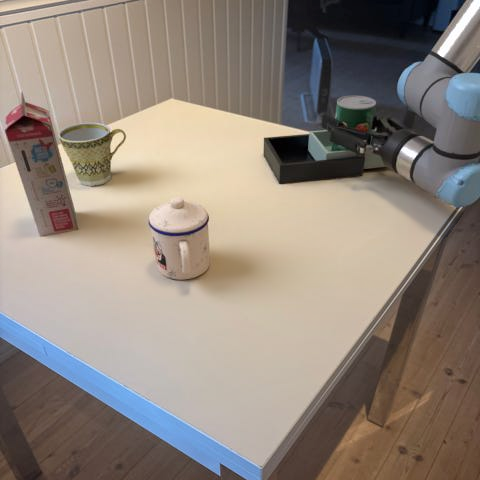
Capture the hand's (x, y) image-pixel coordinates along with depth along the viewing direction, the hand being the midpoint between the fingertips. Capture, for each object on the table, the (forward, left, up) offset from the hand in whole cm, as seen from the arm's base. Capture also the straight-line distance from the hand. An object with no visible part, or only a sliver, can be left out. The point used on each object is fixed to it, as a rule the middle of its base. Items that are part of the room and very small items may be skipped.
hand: (340, 116), depth 105 cm
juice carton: (+52, +36, -8) cm, 63 cm away
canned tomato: (-3, +4, -7) cm, 8 cm away
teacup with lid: (+26, +48, -8) cm, 55 cm away
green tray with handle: (-6, +3, -7) cm, 10 cm away
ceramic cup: (+50, +17, -8) cm, 53 cm away
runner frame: (+6, +7, -8) cm, 12 cm away
